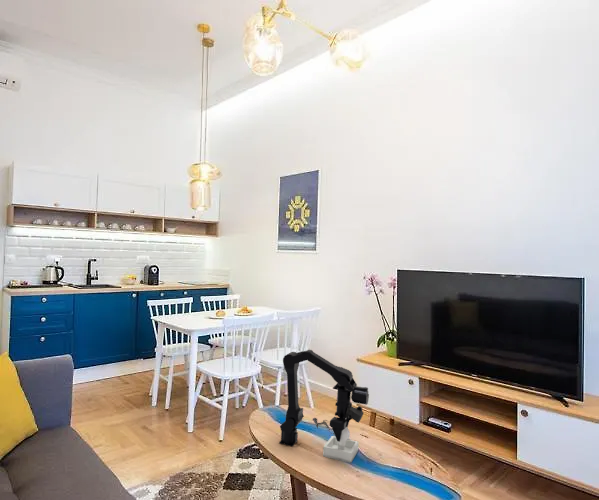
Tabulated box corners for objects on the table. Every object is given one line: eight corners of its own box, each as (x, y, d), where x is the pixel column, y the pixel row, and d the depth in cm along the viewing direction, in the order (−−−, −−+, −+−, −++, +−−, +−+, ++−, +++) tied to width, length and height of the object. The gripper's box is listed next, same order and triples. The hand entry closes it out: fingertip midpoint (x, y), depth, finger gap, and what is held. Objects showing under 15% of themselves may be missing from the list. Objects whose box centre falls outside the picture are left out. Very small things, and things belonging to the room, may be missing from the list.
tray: (323, 456, 174) (323, 446, 174) (331, 444, 185) (332, 435, 186) (350, 463, 170) (351, 453, 170) (358, 450, 181) (358, 441, 181)
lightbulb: (338, 456, 173) (340, 430, 173) (330, 449, 179) (332, 423, 179) (351, 454, 176) (353, 428, 176) (343, 447, 182) (345, 422, 182)
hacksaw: (312, 420, 214) (312, 417, 214) (331, 419, 216) (331, 416, 216) (323, 440, 190) (323, 437, 190) (345, 440, 192) (345, 436, 192)
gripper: (356, 411, 166) (354, 450, 166) (367, 397, 184) (365, 433, 183) (330, 405, 171) (328, 444, 170) (342, 393, 188) (340, 427, 188)
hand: (341, 437), depth 178 cm, fingers open, 9 cm apart
